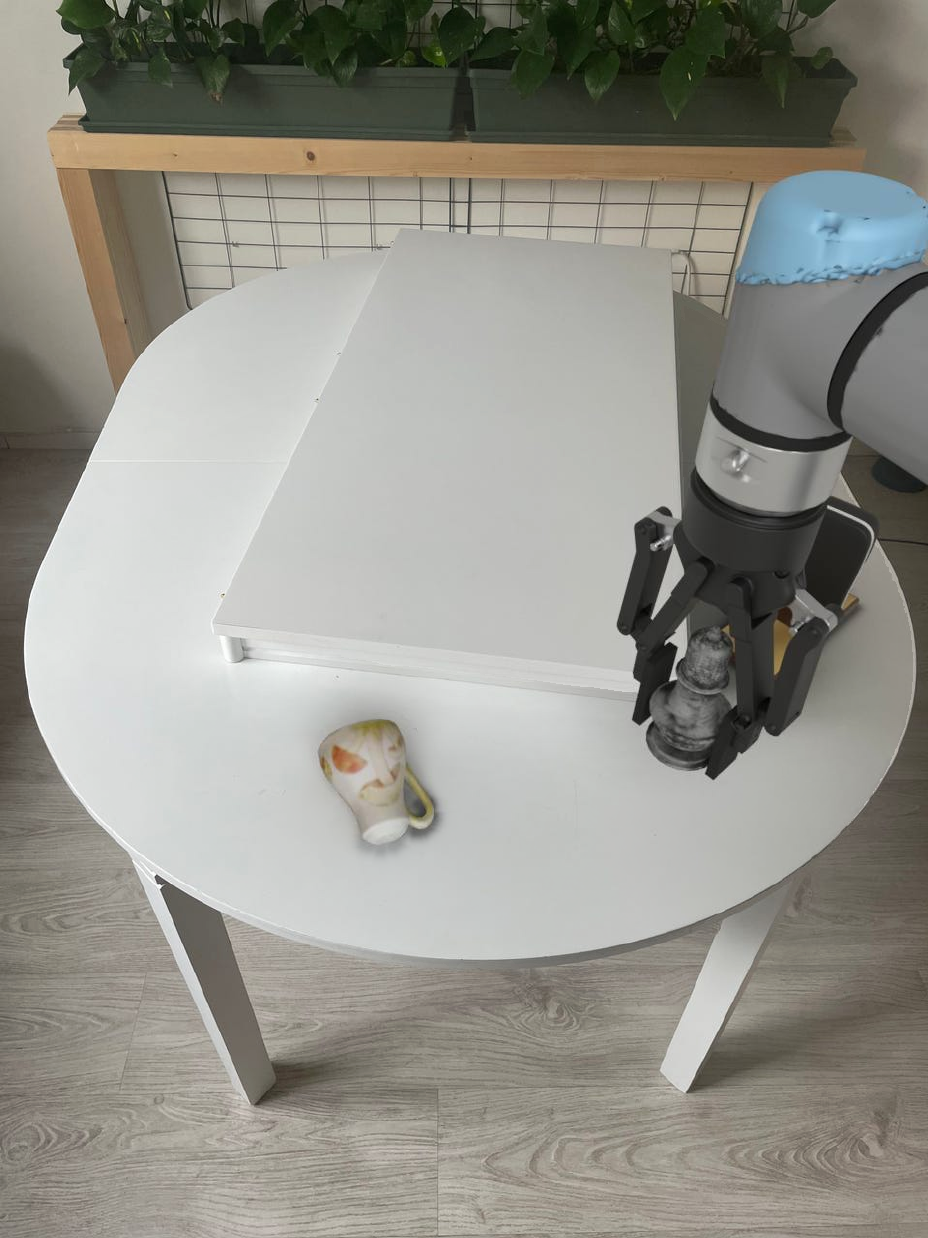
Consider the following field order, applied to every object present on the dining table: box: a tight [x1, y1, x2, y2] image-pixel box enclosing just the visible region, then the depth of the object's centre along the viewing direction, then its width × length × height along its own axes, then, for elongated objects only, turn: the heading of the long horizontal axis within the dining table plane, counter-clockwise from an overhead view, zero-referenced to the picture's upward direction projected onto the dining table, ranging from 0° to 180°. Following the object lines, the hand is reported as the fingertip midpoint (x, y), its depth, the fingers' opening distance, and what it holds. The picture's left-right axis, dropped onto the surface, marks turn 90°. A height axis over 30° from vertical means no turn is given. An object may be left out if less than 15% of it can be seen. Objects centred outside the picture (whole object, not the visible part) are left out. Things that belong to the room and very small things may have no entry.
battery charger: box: [804, 495, 881, 608], centre depth 90 cm, size 7×4×11 cm, turn 51°
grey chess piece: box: [645, 624, 733, 772], centre depth 63 cm, size 6×6×12 cm
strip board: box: [721, 592, 860, 682], centre depth 93 cm, size 7×16×1 cm, turn 133°
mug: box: [317, 718, 435, 846], centre depth 75 cm, size 8×10×10 cm
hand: (682, 739), depth 67 cm, fingers closed on grey chess piece, 6 cm apart
